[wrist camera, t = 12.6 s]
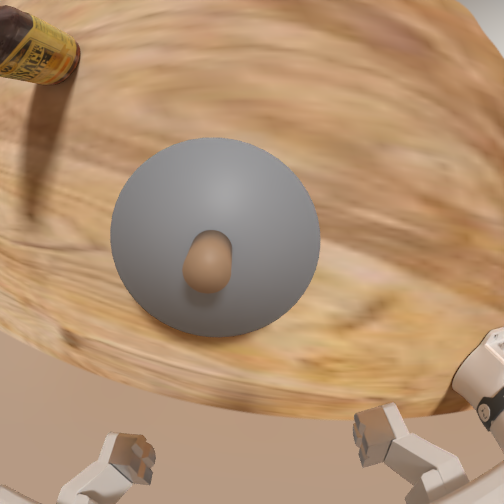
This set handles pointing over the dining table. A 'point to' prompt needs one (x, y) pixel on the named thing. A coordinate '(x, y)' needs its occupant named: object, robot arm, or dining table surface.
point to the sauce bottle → (34, 49)
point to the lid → (215, 237)
